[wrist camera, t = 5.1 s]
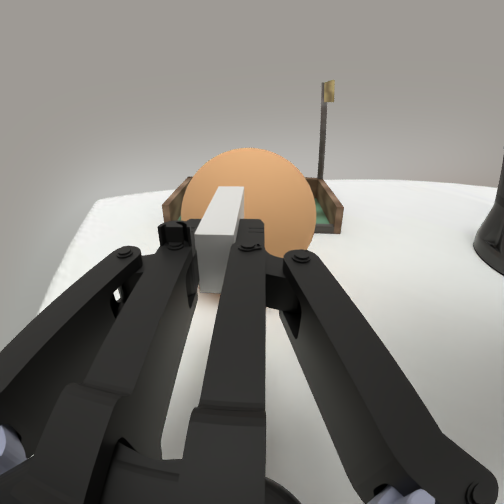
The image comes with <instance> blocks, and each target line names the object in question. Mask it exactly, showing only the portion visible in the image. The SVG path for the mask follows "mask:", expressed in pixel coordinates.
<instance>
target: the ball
mask: <svg viewBox="0 0 504 504" xmlns="http://www.w3.org/2000/svg"><path fill="white" fill-rule="evenodd" d="M219 186H239V187H244V219H260V220H261V221H262V222H263V223H264V235H265V250H266V251H267V252H268V253H269V254H271V255H273V256H276V257H280V258H283V256H284V255H285V253H286V252H288V251H291V250H295V249H296V250H299V249H304V250H307V248H308V246H309V245H310V243H311V241H312V238H313V235H314V231H315V225H316V205H315V200H314V196H313V193H312V190H311V188H310V186H309V184H308V182H307V181H306V179H305V177H304V176H303V175H302V173H301V172H300V171H299V170H298V169H297V168H296V167H295V166H294V165H293V164H292V163H291V162H289V161H288V160H286V159H285V158H283V157H281V156H279V155H278V154H276V153H273V152H270V151H267V150H263V149H256V148H241V149H234V150H230V151H227V152H224V153H222V154H220V155H218V156H216V157H214V158H212V159H211V160H209V161H208V162H207V163H205V164H204V165H203V166H202V167H201V168H200V169H199V170H198V171H197V173H196V174H195V175H194V176H193V178H192V179H191V181H190V183H189V184H188V186H187V189H186V191H185V194H184V197H183V201H182V207H181V221H187V220H189V219H202V218H203V216H204V214H205V212H206V210H207V208H208V206H209V204H210V202H211V200H212V198H213V196H214V194H215V192H216V191H217V189H218V187H219Z"/></svg>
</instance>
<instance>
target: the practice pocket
mask: <svg viewBox="0 0 504 504" xmlns="http://www.w3.org/2000/svg"><path fill="white" fill-rule="evenodd" d="M327 102H334V80H331V81H328V82H325V83H322V99H321V127H320V147H319V163H318V177H317V178H307V177H305V179H306V181H307V182H308V184H309V186H310V188H311V190H312V193H313V196H314V200H315V205H316V225H315V231H314V233H335V234H340V232H341V225H342V218H343V210H344V207H343V205H342V204H341V203H340V201H339V200H338V199H337V197H336V196H335V195H334V193H333V192H332V191H331V189H330V188H329V187H328V185H327V184H326V183H325V181H324V180H323V169H324V155H325V138H326V118H327ZM192 178H193V177H188V178H187V179H186V180H185V181H184V182H183V183H182V184H181V185H180V186H179V187H178V188H177V189H176V190H175V191H174V192H173V193H172V195H171V196H170V197H169V198H168V199H167V200H166V201H165V202H164V203H163V204H162V209H163V217H164V223H165V222H169V221H175V220H180V221H181V207H182V201H183V197H184V194H185V191H186V189H187V186H188V184H189V183H190V181H191V179H192Z"/></svg>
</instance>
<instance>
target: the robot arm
mask: <svg viewBox="0 0 504 504" xmlns="http://www.w3.org/2000/svg"><path fill="white" fill-rule="evenodd" d="M158 234H159V240H160V247H159V248H158V250H157V252H156V253H155V254H151V255H145V256H142V255H141V250H140V249H139V248H138V247H135V246H123V247H121V248H119V249H117V250H115V251H113V252H112V253H111V254H109V255H108V256H107V257H106V258H104V259H103V260H102V261H101V262H99V263H98V264H97V265H96V266H94V267H93V268H92V269H91V270H89V271H88V272H87V273H86V274H84V275H83V276H82V277H81V278H80V279H78V280H77V281H76V282H75V283H74V284H73V285H71V286H70V287H69V288H68V289H67V290H66V291H64V292H63V293H62V294H61V295H60V296H59V297H58V298H56V299H55V300H54V301H53V302H52V303H51V304H50V305H49V306H47V307H46V308H45V309H44V310H43V311H42V312H41V313H40V314H39V315H38V316H37V317H36V318H34V319H33V320H32V321H31V322H30V323H29V324H28V325H27V326H26V327H25V328H24V329H23V330H22V331H21V332H20V333H19V334H18V335H17V336H16V337H15V338H14V339H13V340H12V341H11V342H10V343H9V344H8V345H7V346H6V347H5V348H4V349H3V350H2V351H1V352H0V504H301V503H300V502H299V501H298V500H297V499H296V498H295V497H294V496H293V495H292V494H291V493H290V492H289V491H288V490H286V489H285V488H284V487H283V486H281V485H280V484H278V483H276V482H275V481H273V480H271V479H269V478H267V477H265V463H266V412H265V335H266V307H269V308H273V309H277V310H279V316H280V318H281V321H282V323H283V325H284V328H285V330H286V333H287V335H288V337H289V340H290V342H291V344H292V347H293V349H294V351H295V354H296V356H297V358H298V361H299V363H300V366H301V368H302V370H303V373H304V375H305V377H306V380H307V382H308V384H309V387H310V389H311V391H312V394H313V396H314V399H315V401H316V403H317V406H318V408H319V410H320V413H321V415H322V417H323V420H324V422H325V425H326V427H327V429H328V432H329V434H330V436H331V439H332V441H333V443H334V446H335V448H336V450H337V453H338V455H339V458H340V460H341V462H342V465H343V467H344V469H345V472H346V474H347V476H348V478H349V480H350V482H351V484H352V486H353V488H354V490H355V491H356V492H357V494H358V495H359V497H360V498H361V500H362V501H363V502H364V503H365V504H495V502H496V500H497V497H498V483H497V480H496V478H495V476H494V475H493V474H492V473H491V472H490V471H489V470H488V469H486V468H485V467H484V466H483V465H481V464H480V463H479V462H478V461H476V460H475V459H474V458H473V457H471V456H470V455H469V454H468V453H466V452H465V451H464V450H463V449H462V448H460V447H459V446H458V445H457V444H455V443H454V442H453V441H452V440H450V439H449V438H448V437H447V436H446V435H444V434H443V433H442V432H441V430H440V429H439V427H438V425H437V424H436V422H435V420H434V419H433V417H432V416H431V414H430V413H429V411H428V409H427V408H426V406H425V405H424V403H423V402H422V400H421V399H420V397H419V395H418V394H417V392H416V391H415V389H414V388H413V386H412V385H411V383H410V382H409V380H408V379H407V377H406V376H405V374H404V373H403V371H402V370H401V368H400V367H399V366H398V364H397V363H396V361H395V360H394V358H393V357H392V355H391V354H390V353H389V351H388V350H387V348H386V347H385V345H384V344H383V343H382V341H381V340H380V338H379V337H378V336H377V334H376V333H375V331H374V330H373V329H372V327H371V326H370V324H369V323H368V322H367V320H366V319H365V318H364V316H363V315H362V313H361V312H360V311H359V309H358V308H357V307H356V305H355V304H354V303H353V301H352V300H351V299H350V297H349V296H348V295H347V293H346V292H345V291H344V289H343V288H342V287H341V285H340V284H339V283H338V281H337V280H336V279H335V278H334V276H333V275H332V274H331V272H330V271H329V270H328V269H327V267H326V266H325V265H324V263H323V262H322V261H321V260H320V258H319V257H318V256H317V255H316V254H315V253H313V252H310V251H308V250H304V249H299V250H296V249H295V250H291V251H288V252H286V253H285V255H284V256H283V258H280V257H276V256H273V255H271V254H269V253H268V252H267V251H266V250H265V235H264V223H263V222H262V221H261V220H260V219H244V187H239V186H219V187H218V189H217V191H216V192H215V194H214V196H213V198H212V200H211V202H210V204H209V206H208V208H207V210H206V212H205V214H204V216H203V218H202V219H189V220H187V221H180V220H175V221H169V222H165V223H163V224H161V225H159V226H158ZM474 248H475V250H476V252H477V253H478V254H479V255H480V257H481V258H482V259H483V260H484V261H486V262H487V263H488V264H489V265H490V266H492V267H493V268H494V269H496V270H497V271H499V272H500V273H502V274H504V157H503V164H502V170H501V175H500V181H499V185H498V190H497V195H496V199H495V203H494V205H493V207H492V209H491V211H490V212H489V214H488V216H487V217H486V219H485V220H484V222H483V223H482V225H481V227H480V228H479V230H478V231H477V234H476V237H475V240H474ZM198 284H199V288H200V292H201V293H221V295H220V300H219V305H218V310H217V315H216V320H215V325H214V330H213V335H212V340H211V345H210V350H209V355H208V360H207V365H206V371H205V376H204V381H203V386H202V392H201V397H200V402H199V405H198V407H195V408H194V409H193V411H192V413H191V417H190V421H189V426H188V431H187V436H186V442H185V447H184V452H183V458H182V459H172V460H162V451H161V436H162V432H163V428H164V424H165V420H166V415H167V411H168V407H169V403H170V399H171V395H172V391H173V387H174V384H175V380H176V376H177V372H178V368H179V365H180V361H181V357H182V353H183V350H184V346H185V343H186V339H187V335H188V332H189V328H190V325H191V321H192V318H193V314H194V311H195V307H196V304H197V300H198V295H197V287H198ZM117 289H118V290H119V294H120V297H121V298H120V299H119V300H117V301H116V300H115V297H114V294H113V293H114V291H115V290H117ZM33 454H34V456H32V455H33ZM31 456H32V457H31ZM28 458H29V459H28Z"/></svg>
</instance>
